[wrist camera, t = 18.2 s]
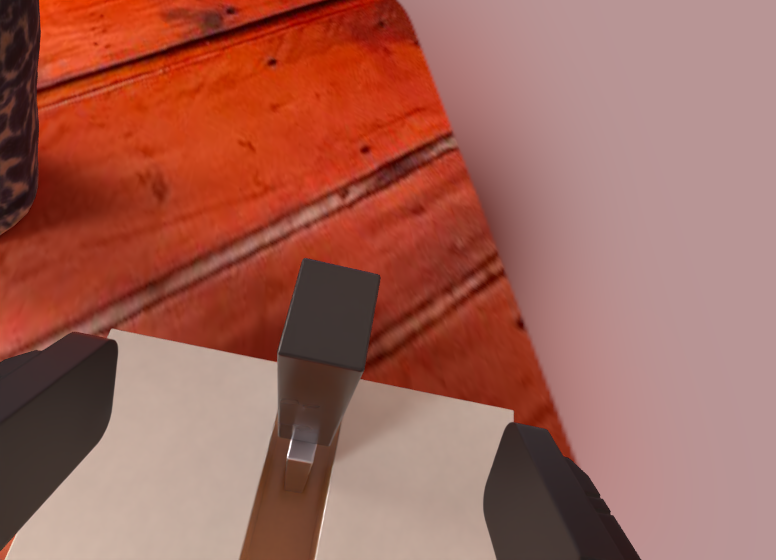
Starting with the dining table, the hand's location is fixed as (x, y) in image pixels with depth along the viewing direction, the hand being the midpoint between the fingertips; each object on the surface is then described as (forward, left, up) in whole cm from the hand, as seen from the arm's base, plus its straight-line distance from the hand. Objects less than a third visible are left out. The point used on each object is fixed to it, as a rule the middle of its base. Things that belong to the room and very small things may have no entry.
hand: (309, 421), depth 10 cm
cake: (0, 0, -21) cm, 21 cm away
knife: (0, -3, -19) cm, 20 cm away
